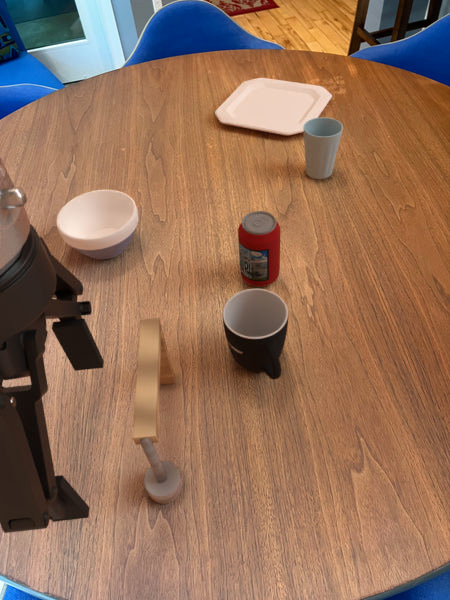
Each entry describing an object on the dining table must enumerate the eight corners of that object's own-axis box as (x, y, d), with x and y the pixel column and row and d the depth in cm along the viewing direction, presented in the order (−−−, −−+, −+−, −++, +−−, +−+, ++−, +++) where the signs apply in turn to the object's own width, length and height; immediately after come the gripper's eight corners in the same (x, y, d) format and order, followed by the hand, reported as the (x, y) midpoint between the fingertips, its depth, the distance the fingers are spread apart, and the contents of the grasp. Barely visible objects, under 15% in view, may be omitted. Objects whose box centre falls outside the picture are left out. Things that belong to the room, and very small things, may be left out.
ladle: (182, 502, 59) (164, 455, 48) (147, 505, 59) (121, 459, 48) (181, 375, 71) (167, 317, 60) (152, 378, 71) (132, 320, 60)
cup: (304, 159, 106) (307, 115, 98) (339, 164, 104) (345, 118, 96) (297, 179, 101) (299, 134, 93) (333, 184, 99) (339, 138, 91)
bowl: (92, 215, 98) (82, 183, 92) (157, 227, 94) (149, 195, 88) (53, 263, 89) (39, 231, 83) (122, 278, 85) (112, 246, 79)
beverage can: (232, 275, 84) (228, 222, 75) (260, 256, 86) (259, 202, 77) (260, 296, 80) (258, 242, 71) (287, 275, 83) (289, 221, 74)
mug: (218, 342, 74) (212, 299, 67) (271, 324, 76) (271, 280, 68) (248, 406, 67) (245, 366, 59) (306, 384, 68) (311, 342, 61)
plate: (248, 83, 132) (248, 75, 130) (336, 96, 124) (337, 87, 122) (207, 126, 118) (206, 118, 116) (303, 145, 110) (303, 136, 108)
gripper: (-28, 476, 17) (115, 594, 33) (66, 123, 33) (131, 316, 49) (-240, 500, 17) (6, 606, 33) (-41, 135, 33) (58, 324, 49)
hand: (81, 432), depth 41 cm, fingers open, 13 cm apart
